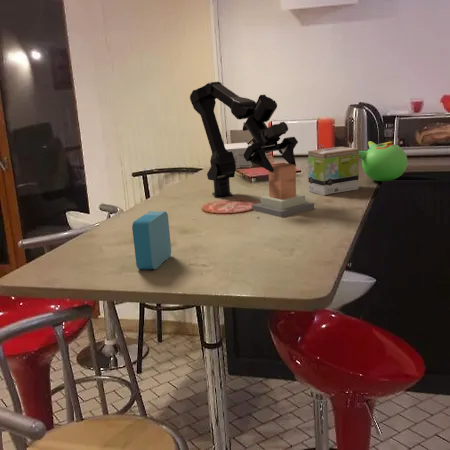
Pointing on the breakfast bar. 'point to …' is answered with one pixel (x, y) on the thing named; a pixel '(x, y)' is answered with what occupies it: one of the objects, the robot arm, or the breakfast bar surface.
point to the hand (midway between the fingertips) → (284, 169)
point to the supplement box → (238, 153)
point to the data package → (151, 239)
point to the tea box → (333, 170)
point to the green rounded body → (383, 161)
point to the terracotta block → (282, 181)
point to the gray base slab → (283, 212)
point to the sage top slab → (282, 201)
